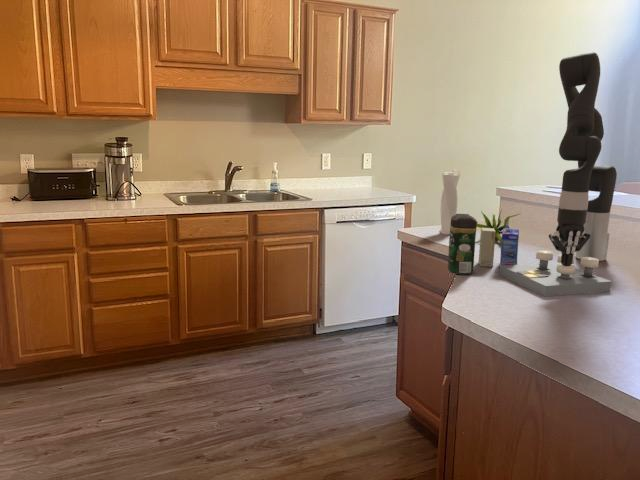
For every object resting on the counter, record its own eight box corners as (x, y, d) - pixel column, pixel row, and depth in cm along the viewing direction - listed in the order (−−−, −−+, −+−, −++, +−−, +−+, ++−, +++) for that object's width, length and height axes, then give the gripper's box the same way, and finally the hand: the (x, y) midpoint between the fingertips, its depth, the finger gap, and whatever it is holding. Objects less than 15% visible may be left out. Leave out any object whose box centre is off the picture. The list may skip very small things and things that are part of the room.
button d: (565, 279, 166) (567, 263, 165) (577, 283, 162) (579, 267, 161) (552, 280, 165) (553, 263, 164) (563, 284, 161) (565, 268, 159)
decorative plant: (460, 247, 215) (462, 209, 212) (488, 235, 238) (491, 201, 235) (506, 254, 204) (509, 215, 201) (531, 241, 227) (534, 205, 224)
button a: (565, 269, 178) (567, 254, 177) (576, 273, 173) (578, 257, 172) (552, 270, 177) (554, 254, 175) (563, 274, 172) (565, 258, 171)
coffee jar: (445, 267, 184) (449, 211, 180) (470, 268, 184) (474, 212, 180) (449, 275, 175) (453, 216, 171) (474, 276, 174) (479, 217, 170)
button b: (588, 272, 168) (590, 256, 167) (600, 277, 164) (602, 260, 162) (575, 273, 167) (577, 257, 166) (587, 277, 162) (589, 261, 161)
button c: (544, 265, 175) (546, 250, 174) (554, 269, 171) (556, 253, 170) (531, 266, 174) (533, 250, 173) (541, 270, 170) (543, 254, 169)
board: (559, 271, 182) (560, 261, 181) (610, 291, 161) (611, 280, 160) (500, 275, 176) (500, 264, 175) (544, 296, 155) (546, 285, 155)
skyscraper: (459, 236, 236) (464, 169, 230) (440, 235, 236) (444, 169, 230) (455, 232, 244) (459, 167, 238) (436, 231, 244) (440, 167, 238)
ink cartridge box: (499, 262, 192) (503, 221, 189) (516, 264, 190) (520, 222, 187) (498, 269, 182) (502, 226, 179) (516, 271, 181) (520, 227, 178)
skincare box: (493, 267, 185) (496, 231, 182) (479, 266, 186) (482, 230, 183) (491, 262, 191) (494, 227, 188) (478, 261, 192) (481, 227, 189)
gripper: (583, 204, 164) (576, 261, 168) (544, 205, 160) (538, 263, 164) (602, 208, 157) (594, 267, 161) (562, 209, 153) (555, 270, 157)
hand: (566, 265), depth 162 cm, fingers closed
